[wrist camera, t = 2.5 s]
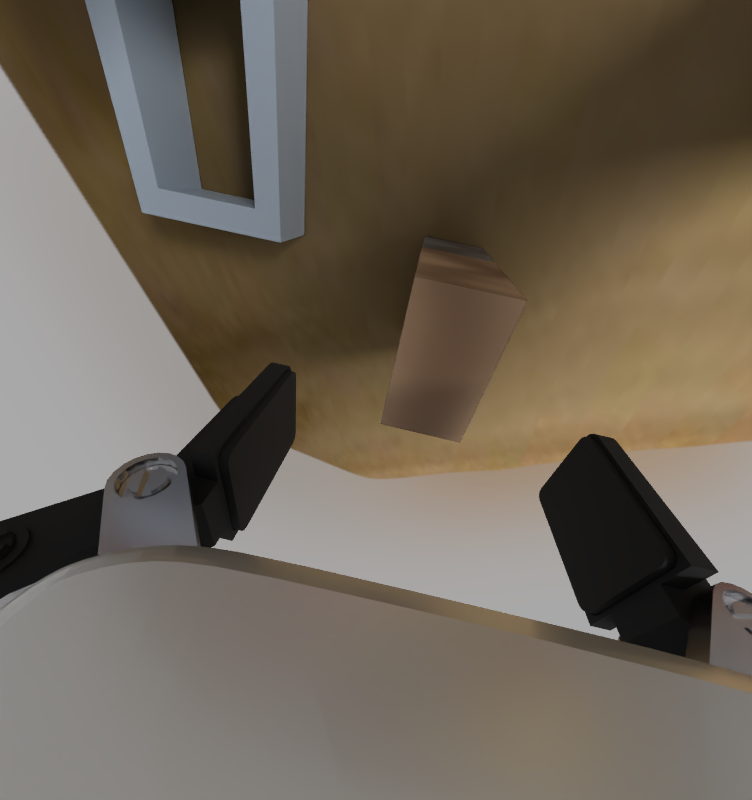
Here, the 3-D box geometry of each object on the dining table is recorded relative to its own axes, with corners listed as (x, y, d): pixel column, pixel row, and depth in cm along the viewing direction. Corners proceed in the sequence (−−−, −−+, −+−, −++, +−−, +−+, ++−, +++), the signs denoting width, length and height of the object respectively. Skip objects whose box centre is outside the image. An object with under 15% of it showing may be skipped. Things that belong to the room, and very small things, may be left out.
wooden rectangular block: (482, 248, 20) (527, 301, 10) (450, 341, 24) (460, 442, 14) (424, 236, 20) (414, 276, 10) (402, 331, 24) (380, 423, 14)
